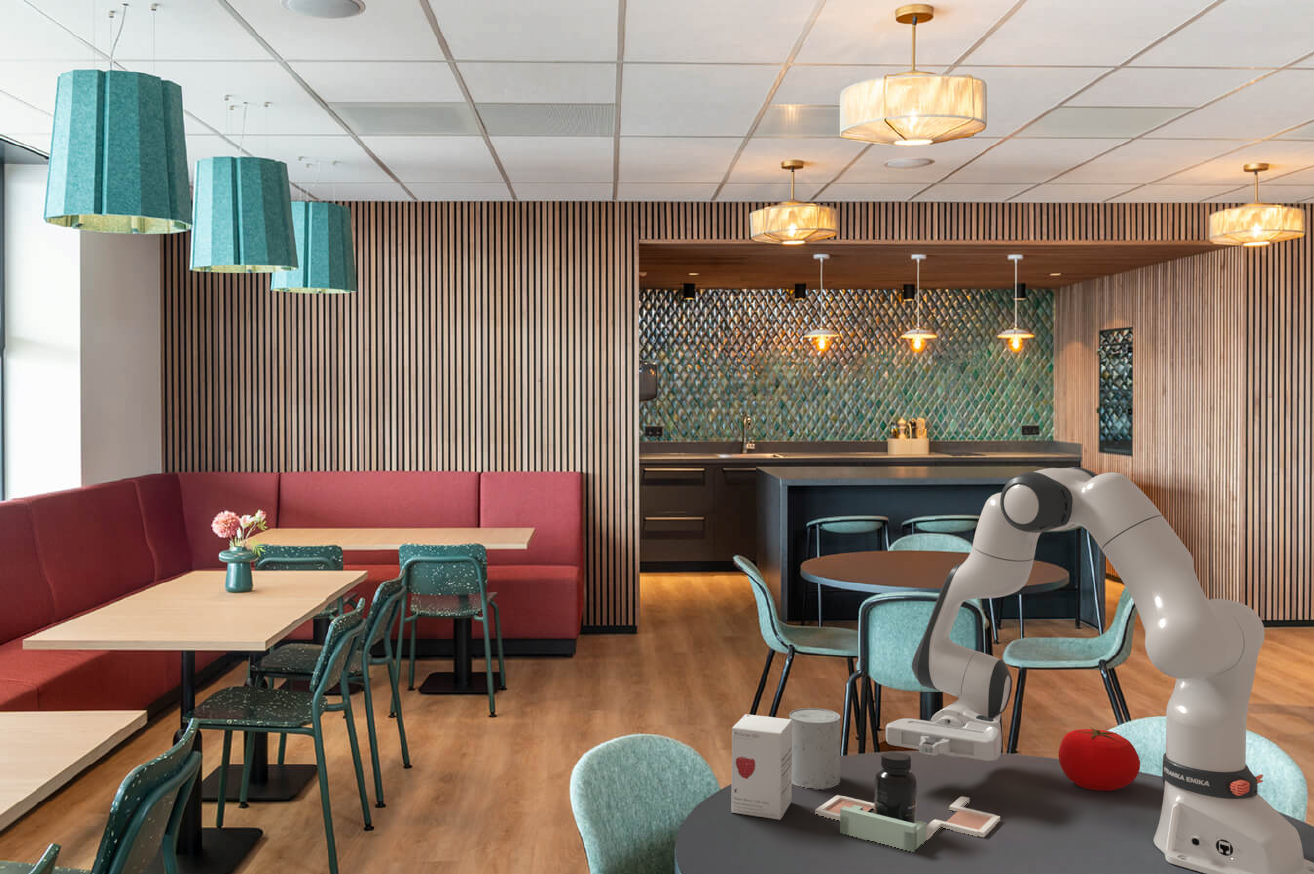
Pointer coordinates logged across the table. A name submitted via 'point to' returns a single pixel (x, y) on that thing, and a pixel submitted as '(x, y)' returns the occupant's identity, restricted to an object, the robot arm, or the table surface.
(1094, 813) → the table surface
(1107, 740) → the tomato
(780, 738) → the supplement box
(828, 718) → the speckled concrete cylinder
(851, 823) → the trap lane
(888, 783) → the supplement bottle
